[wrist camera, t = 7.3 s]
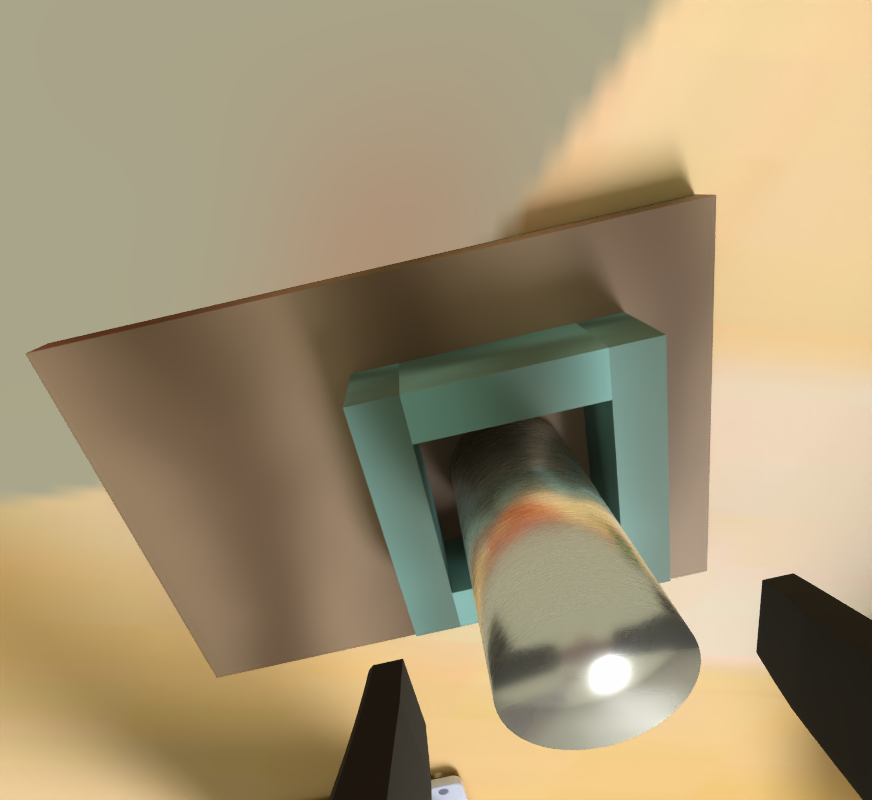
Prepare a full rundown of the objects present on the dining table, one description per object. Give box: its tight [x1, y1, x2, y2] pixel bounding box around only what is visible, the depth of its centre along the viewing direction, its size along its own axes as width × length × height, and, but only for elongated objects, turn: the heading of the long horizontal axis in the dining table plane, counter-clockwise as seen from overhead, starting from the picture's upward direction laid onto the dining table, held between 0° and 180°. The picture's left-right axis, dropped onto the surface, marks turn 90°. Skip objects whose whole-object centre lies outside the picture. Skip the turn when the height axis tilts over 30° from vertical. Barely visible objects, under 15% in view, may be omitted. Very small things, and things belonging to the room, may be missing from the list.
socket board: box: [26, 195, 716, 678], centre depth 16 cm, size 20×14×4 cm
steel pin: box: [450, 417, 701, 750], centre depth 13 cm, size 4×4×8 cm
